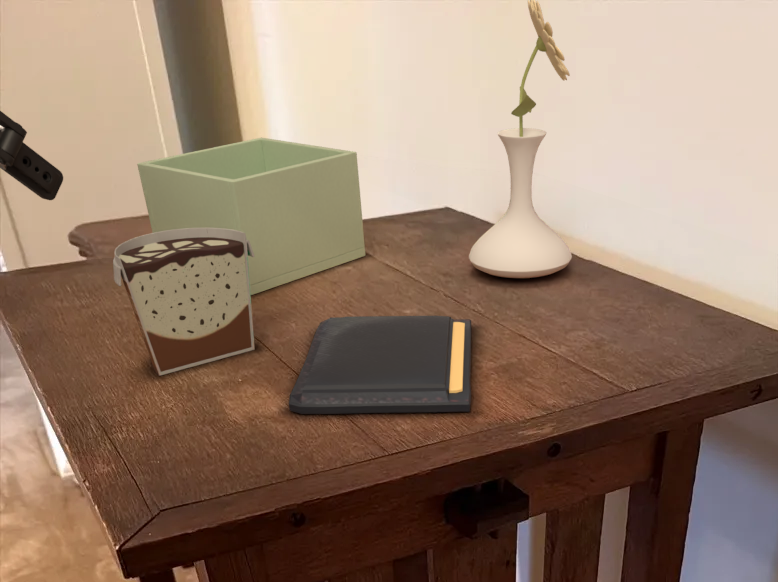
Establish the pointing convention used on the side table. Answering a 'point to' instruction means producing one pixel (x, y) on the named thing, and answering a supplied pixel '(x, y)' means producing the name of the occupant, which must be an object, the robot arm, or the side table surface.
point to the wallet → (386, 366)
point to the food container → (189, 294)
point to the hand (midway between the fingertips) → (23, 181)
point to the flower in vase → (524, 190)
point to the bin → (264, 203)
